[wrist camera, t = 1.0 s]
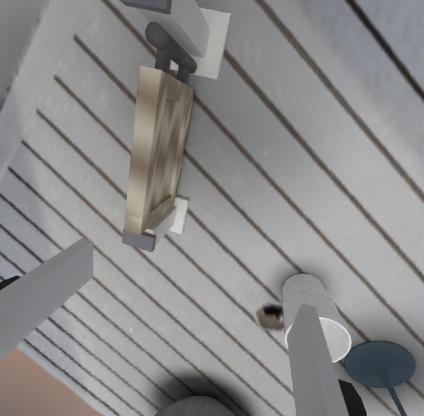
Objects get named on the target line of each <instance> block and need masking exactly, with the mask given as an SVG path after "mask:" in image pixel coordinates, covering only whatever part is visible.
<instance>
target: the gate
mask: <svg viewBox="0 0 424 416" xmlns="http://www.w3.org/2000/svg"><path fill="white" fill-rule="evenodd" d="M145 35H146V39H147V41H148V42H149V43H150V44H151V45H153V46H154V47H155V48H157V55H156V63H155V69H154V68H150V67H146V66H141V65H140V69H139V80H138V90H137V100H136V111H135V121H134V131H133V142H132V152H131V162H130V173H129V183H128V194H127V204H126V214H125V225H124V230H126V231H129V232H132V233H135V234H139V235H141V234H142V233H143V232H144V231H145V230H146V229H148V228H149V227H150V226H151V225H152V224H153V223H154V222H155V221H156V220H157V219H159V218H160V217H161V216H162V215H163V214H164V213H165V212H166V211H167V210H168V209H170V208H171V207H172V206H173V205H174V201H175V196H176V190H177V185H178V179H179V174H180V168H181V163H182V157H183V151H184V146H185V140H186V135H187V129H188V124H189V118H190V113H191V107H192V101H193V96H194V89H192V88H191V87H189V86H187V80H188V74H189V73H190V74H192V73H194V72H195V71H196V70H197V63H196V62H195V60H194V59H193V58H192V57H191V56H190V55H189V54H188V53H187V52H186V51H185V50H184V49H183V48H182V47H181V46H180V45H179V44H178V43H177V42H176V41H175V40H174V38H173V37H172V36H171V35H170V34H169V33H168V32H167V31H166V30H165V29H164V28H163V27H162V26H161V25H160V24H159V23H157V22H151V23H149V24H148V26H147V27H146V31H145ZM171 60H172V61H173V62H175V63H176V64H177V65H179V67H178V73H177V79H175V78H174V77H172V76H170V75H169V72H170V65H171Z"/></svg>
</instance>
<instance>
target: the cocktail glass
mask: <svg viewBox="0 0 424 416" xmlns="http://www.w3.org/2000/svg"><path fill="white" fill-rule="evenodd" d="M345 368H346V371H347V372H348V374H349V375H350V376H351V377H352V378H353V379H354V380H355V381H357V382H359V383H361V384H363V385H366V386H370V387H376V388H387V389H388V391H389V393H390V394H391V396H392V398H393V400H394V402H395V404H396V406H397V408H398V410H399V412H400V414H401V416H407V415H406V413H405V411H404V409H403V407H402V405H401V403H400V401H399V399H398V397H397V394H396V392H395V390H394V388H393V386H397V385H400V384H402V383H404V382H405V381H407V380H408V379H409V378H410V377H411V376H412V375H413V373H414V371H415V361H414V358H413V357H412V355H411V354H410V353H409V352H408V351H407V350H406V349H404V348H403V347H401V346H399V345H396V344H394V343H390V342H384V341H373V342H367V343H363V344H360V345H358V346H356V347H355V348H353V349H352V350H351V351H350V352H349V353H348V354H347V356H346V358H345Z"/></svg>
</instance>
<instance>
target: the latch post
mask: <svg viewBox="0 0 424 416" xmlns="http://www.w3.org/2000/svg"><path fill="white" fill-rule="evenodd" d="M189 201H190V199H187V198H183V197H180V196H175V201H174V205H173V206H172V207H171V208H170V209H168V210H167V211H166V212H165V213H164V214H163V215H162V216H161V217H160V218H159V219H157V220H156V221H155V222H154V223H153V224H152V225H151V226H150V227H149V228H148V229H146V230H145V231H144V232H143V233H142V234H141V235H139V234H135V233H132V232H129V231H126V230H124V229H123V238H122V243H124V244H127V245H130V246H134V247H137V248H140V249H143V250H146V251H149V252H152V251H153V250H154V249H155V245H156V244H157V243H158V242H159V241H160V240H161V238H162V237H163V236H164V235H165V234H166V233H167V232H168V230H169V231H172V232H176V233H179V234H182V233H183V230H184V225H185V221H186V216H187V211H188V206H189Z"/></svg>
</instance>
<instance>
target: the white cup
mask: <svg viewBox="0 0 424 416" xmlns="http://www.w3.org/2000/svg"><path fill="white" fill-rule="evenodd" d="M282 291H283V301H282V303H283V322H284V337H285V344H286V347H287V349H288V342H287V335H288V333H289V331H290V329H291V326H292V324H293V322H294V320H295V317H296V315H297V313H298V311H299V308H300V306H301V304H302V303H304V304H308V305H311V306H314V307H316V310H317V313H318V316H319V320H320V323H321V326H322V329H323V333H324V336H325V339H326V342H327V346H328V349H329V352H330V355H331V359H332V362H333V363H334V362H337V361H339V360H341V359H342V358H344V357H345V356H346V355H347V354H348V352H349V350H350V348H351V337H350V334H349V332H348V330H347V328H346V326H345V324H344V322H343V320H342V318H341V316H340V314H339V312H338V310H337V308H336V306H335V304H334V302H333V301H332V299H331V297H330V295H329V293H328V292H327V291H326V288H325V287H324V285H323V283H322V282H321V280H320V279H318V278H316V277H315V276H313V275H310V274H303V273H301V274H297V275H293V276H291V277H290V278H288V279H287V280H286V281H285V283H284V285H283V287H282Z"/></svg>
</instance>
